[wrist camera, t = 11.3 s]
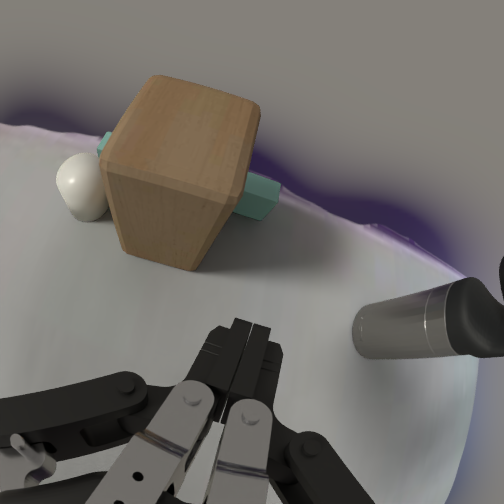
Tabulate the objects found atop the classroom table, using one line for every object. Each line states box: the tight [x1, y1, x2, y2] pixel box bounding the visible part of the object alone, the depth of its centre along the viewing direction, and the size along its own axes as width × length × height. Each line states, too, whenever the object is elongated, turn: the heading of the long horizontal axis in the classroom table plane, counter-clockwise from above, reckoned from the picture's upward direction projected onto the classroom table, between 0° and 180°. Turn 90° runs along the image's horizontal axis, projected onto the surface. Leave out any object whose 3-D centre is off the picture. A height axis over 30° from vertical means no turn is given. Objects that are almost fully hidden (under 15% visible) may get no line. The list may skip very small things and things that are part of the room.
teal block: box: [97, 132, 281, 221], centre depth 35 cm, size 24×3×6 cm, turn 80°
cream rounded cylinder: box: [56, 153, 109, 222], centre depth 29 cm, size 6×6×7 cm
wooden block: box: [99, 75, 261, 271], centre depth 26 cm, size 10×10×20 cm
